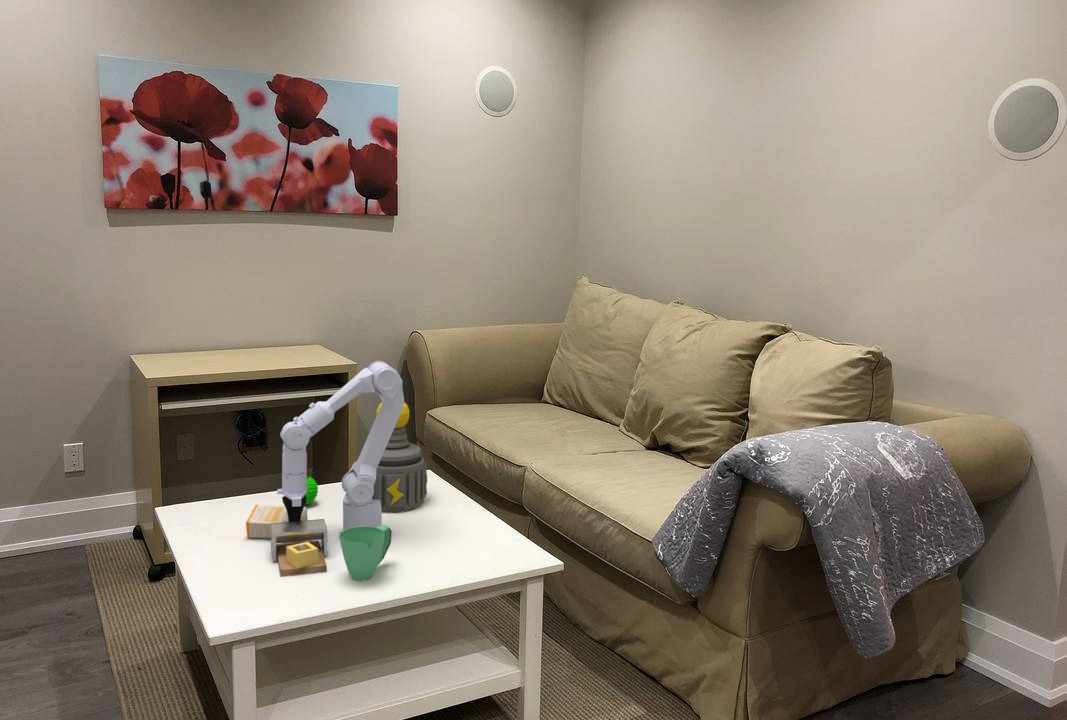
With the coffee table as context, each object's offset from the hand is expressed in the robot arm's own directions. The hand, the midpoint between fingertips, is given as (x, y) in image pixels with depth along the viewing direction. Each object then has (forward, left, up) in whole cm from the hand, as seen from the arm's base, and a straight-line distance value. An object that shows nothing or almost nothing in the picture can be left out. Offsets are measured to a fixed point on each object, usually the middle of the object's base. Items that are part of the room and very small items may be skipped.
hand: (294, 525), depth 216 cm
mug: (-14, +23, -4) cm, 28 cm away
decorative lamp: (-28, -24, -5) cm, 37 cm away
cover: (0, +8, -4) cm, 9 cm away
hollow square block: (0, +17, -3) cm, 17 cm away
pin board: (0, +12, -4) cm, 13 cm away
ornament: (-4, -28, -5) cm, 29 cm away
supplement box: (+10, -9, -1) cm, 13 cm away
